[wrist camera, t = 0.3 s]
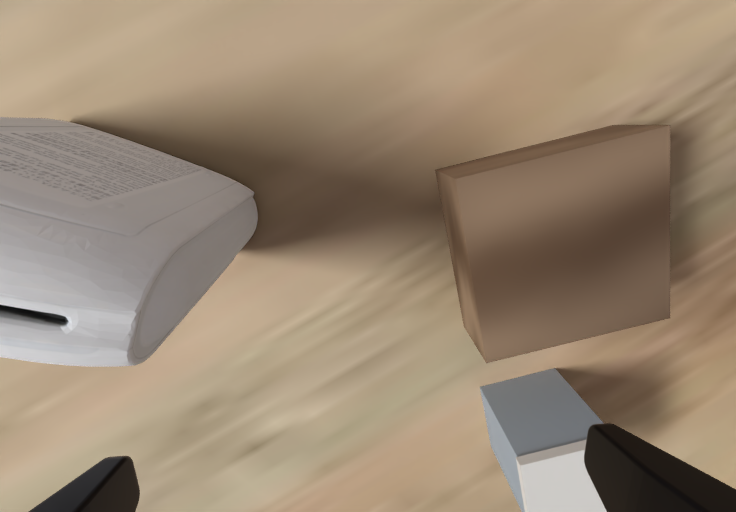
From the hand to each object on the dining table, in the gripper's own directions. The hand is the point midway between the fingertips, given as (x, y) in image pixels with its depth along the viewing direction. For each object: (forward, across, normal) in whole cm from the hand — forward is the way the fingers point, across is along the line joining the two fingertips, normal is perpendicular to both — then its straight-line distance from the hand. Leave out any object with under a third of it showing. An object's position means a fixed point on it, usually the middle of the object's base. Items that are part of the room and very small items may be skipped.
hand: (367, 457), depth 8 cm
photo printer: (+14, +9, -4) cm, 17 cm away
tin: (+14, -10, +10) cm, 20 cm away
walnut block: (+14, -10, -1) cm, 17 cm away
